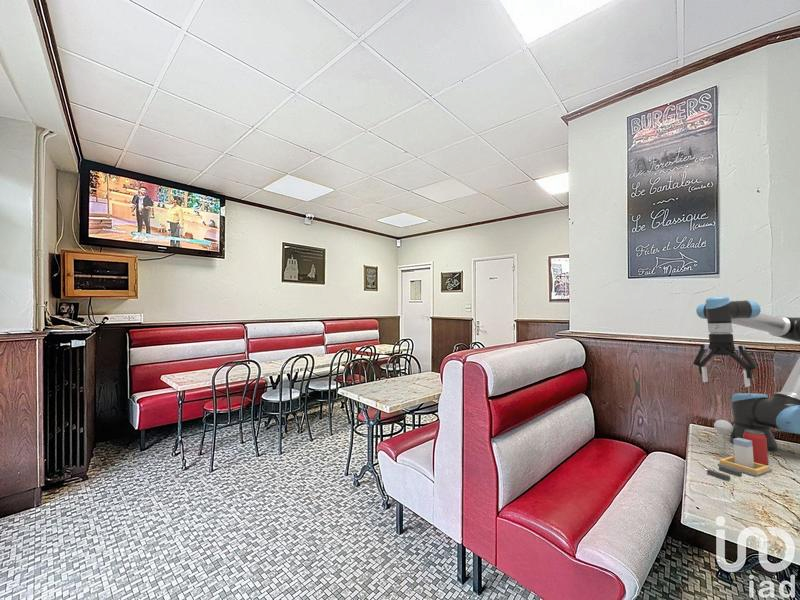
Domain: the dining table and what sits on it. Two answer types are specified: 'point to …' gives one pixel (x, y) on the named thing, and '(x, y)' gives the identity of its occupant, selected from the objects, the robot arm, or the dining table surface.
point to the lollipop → (723, 429)
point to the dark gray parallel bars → (724, 476)
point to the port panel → (755, 471)
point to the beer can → (757, 445)
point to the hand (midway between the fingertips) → (725, 384)
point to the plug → (743, 452)
